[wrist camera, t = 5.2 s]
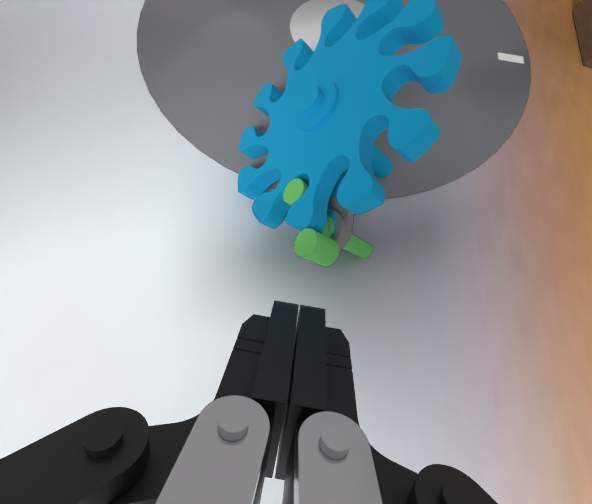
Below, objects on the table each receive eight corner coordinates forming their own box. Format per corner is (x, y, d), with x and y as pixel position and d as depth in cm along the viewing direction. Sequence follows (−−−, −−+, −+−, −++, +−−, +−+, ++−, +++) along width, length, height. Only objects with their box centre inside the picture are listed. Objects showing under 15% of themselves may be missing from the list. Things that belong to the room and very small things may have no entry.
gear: (249, 49, 17) (454, -101, 10) (321, 114, 21) (501, 38, 14) (200, 257, 15) (427, 245, 8) (292, 284, 19) (494, 293, 12)
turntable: (80, 166, 17) (68, 154, 16) (200, -90, 26) (197, -107, 25) (538, 244, 17) (553, 236, 16) (505, -38, 26) (514, -54, 25)
